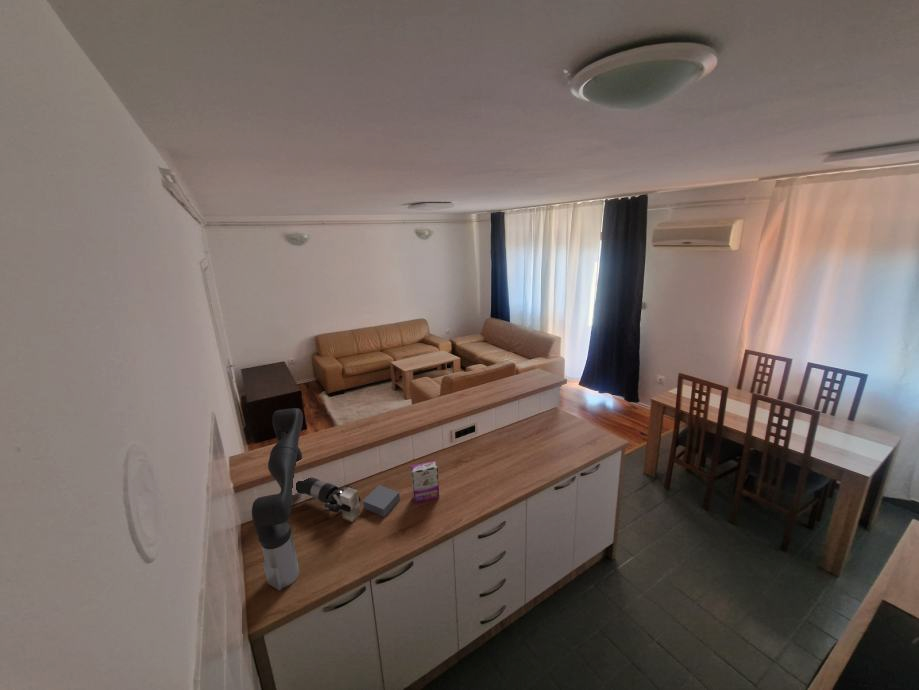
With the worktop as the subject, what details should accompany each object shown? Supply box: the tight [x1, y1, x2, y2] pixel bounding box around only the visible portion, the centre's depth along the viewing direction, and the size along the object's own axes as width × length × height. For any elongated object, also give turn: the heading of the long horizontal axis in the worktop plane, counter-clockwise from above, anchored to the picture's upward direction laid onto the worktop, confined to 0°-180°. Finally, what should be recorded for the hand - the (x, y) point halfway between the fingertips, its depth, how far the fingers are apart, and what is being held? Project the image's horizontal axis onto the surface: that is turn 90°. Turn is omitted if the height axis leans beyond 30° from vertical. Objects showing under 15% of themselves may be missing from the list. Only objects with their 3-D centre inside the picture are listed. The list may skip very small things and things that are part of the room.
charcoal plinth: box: [362, 484, 401, 518], centre depth 157 cm, size 11×11×4 cm
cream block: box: [340, 487, 362, 523], centre depth 149 cm, size 5×5×12 cm
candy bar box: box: [410, 460, 440, 504], centre depth 159 cm, size 11×5×16 cm, turn 105°
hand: (355, 504), depth 148 cm, fingers closed on cream block, 5 cm apart
